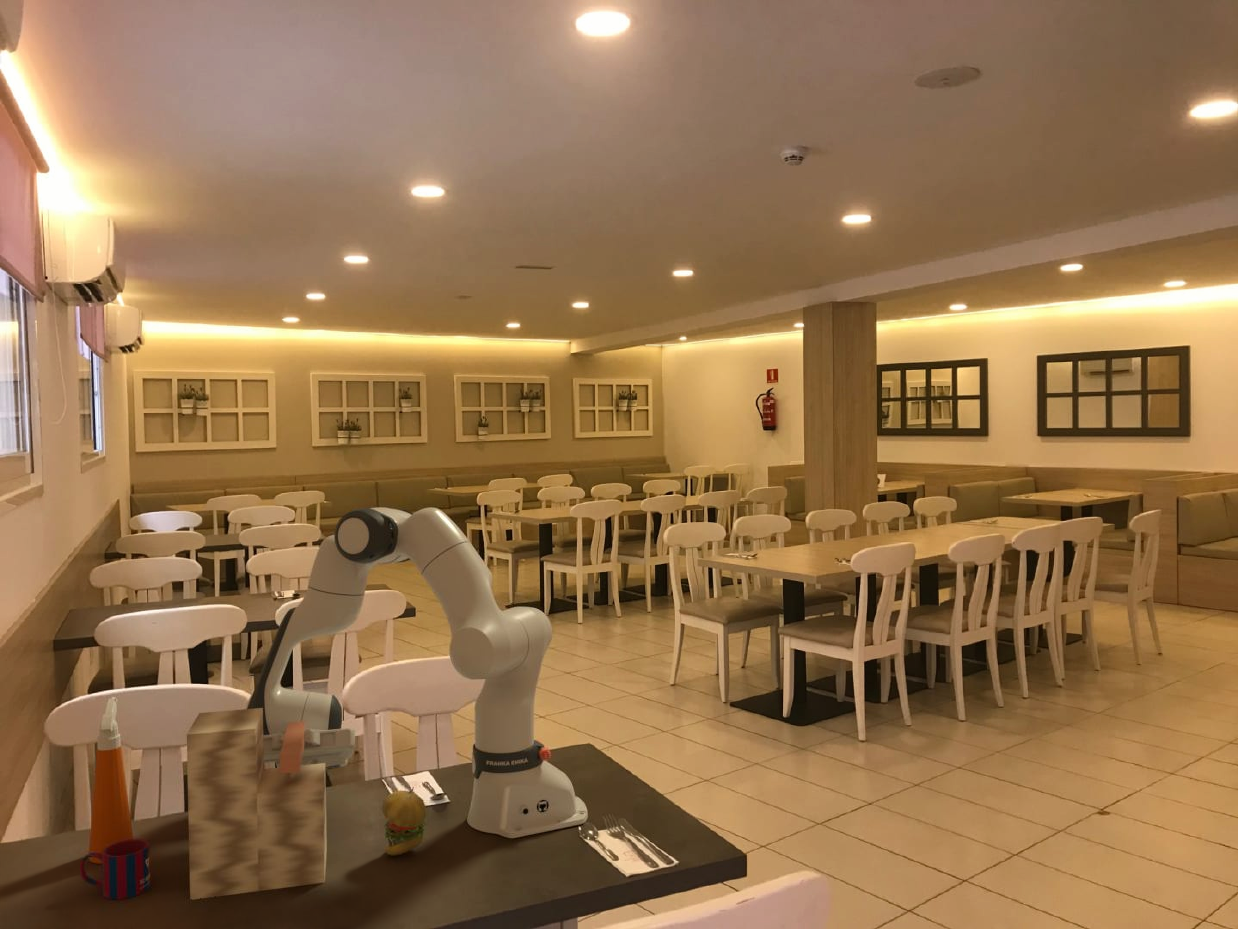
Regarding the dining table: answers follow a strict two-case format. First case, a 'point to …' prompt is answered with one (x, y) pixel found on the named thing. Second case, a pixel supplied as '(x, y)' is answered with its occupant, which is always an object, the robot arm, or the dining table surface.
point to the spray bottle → (109, 788)
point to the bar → (292, 748)
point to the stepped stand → (250, 811)
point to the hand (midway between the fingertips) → (295, 736)
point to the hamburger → (403, 821)
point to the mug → (122, 869)
